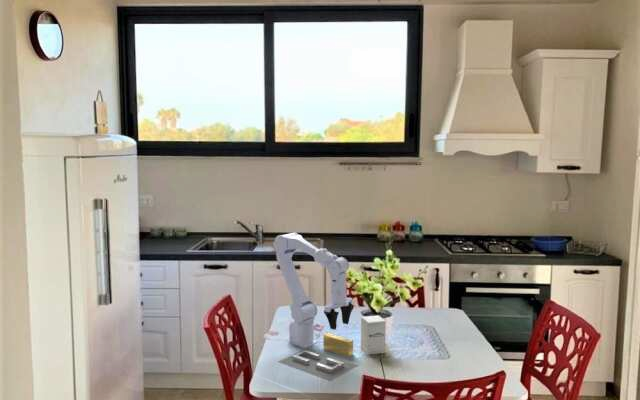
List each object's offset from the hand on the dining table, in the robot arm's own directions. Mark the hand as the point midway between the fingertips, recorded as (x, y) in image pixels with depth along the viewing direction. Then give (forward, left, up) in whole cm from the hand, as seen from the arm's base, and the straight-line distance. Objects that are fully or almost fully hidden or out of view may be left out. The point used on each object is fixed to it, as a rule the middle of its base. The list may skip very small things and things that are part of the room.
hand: (339, 326), depth 192 cm
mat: (0, -13, -10) cm, 17 cm away
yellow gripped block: (-1, 0, -11) cm, 11 cm away
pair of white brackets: (0, -13, -10) cm, 16 cm away
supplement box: (+8, +10, -11) cm, 17 cm away
